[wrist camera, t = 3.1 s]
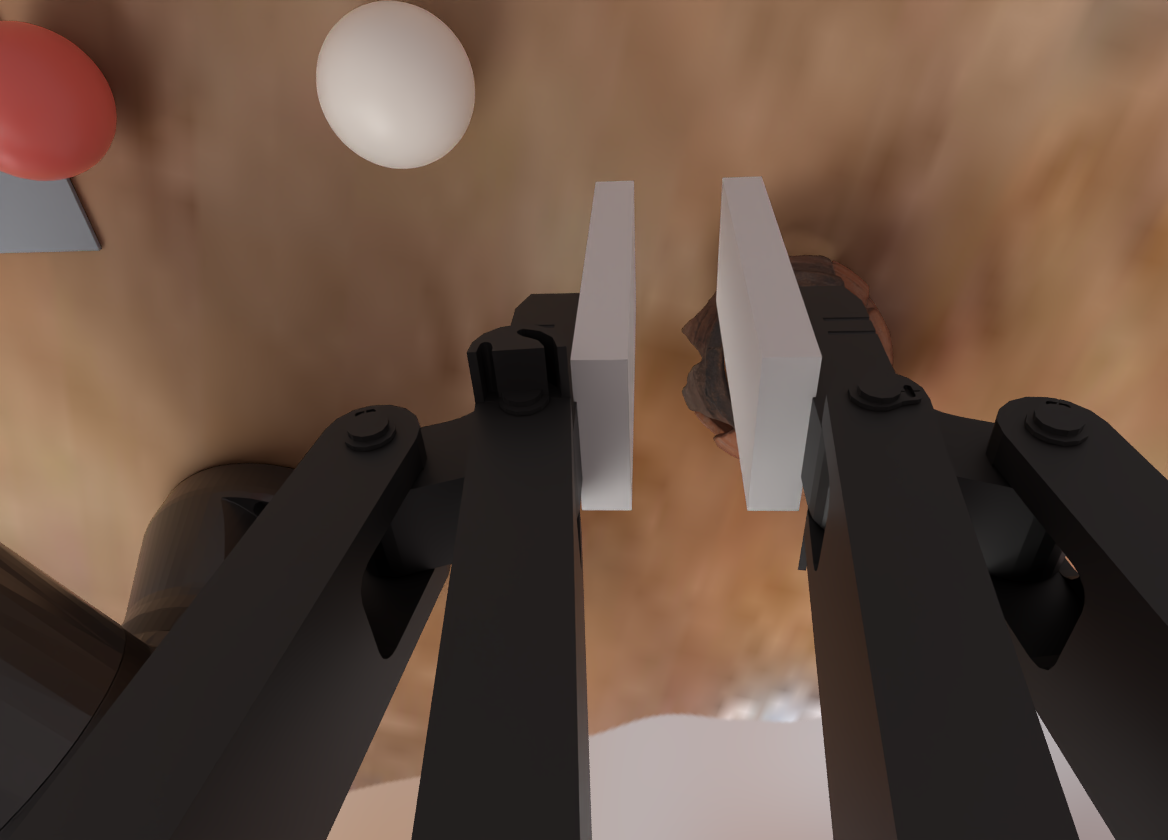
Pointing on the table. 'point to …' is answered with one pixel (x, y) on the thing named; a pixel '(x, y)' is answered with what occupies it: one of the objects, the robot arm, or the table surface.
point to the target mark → (42, 217)
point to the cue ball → (395, 84)
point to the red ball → (50, 105)
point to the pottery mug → (703, 331)
